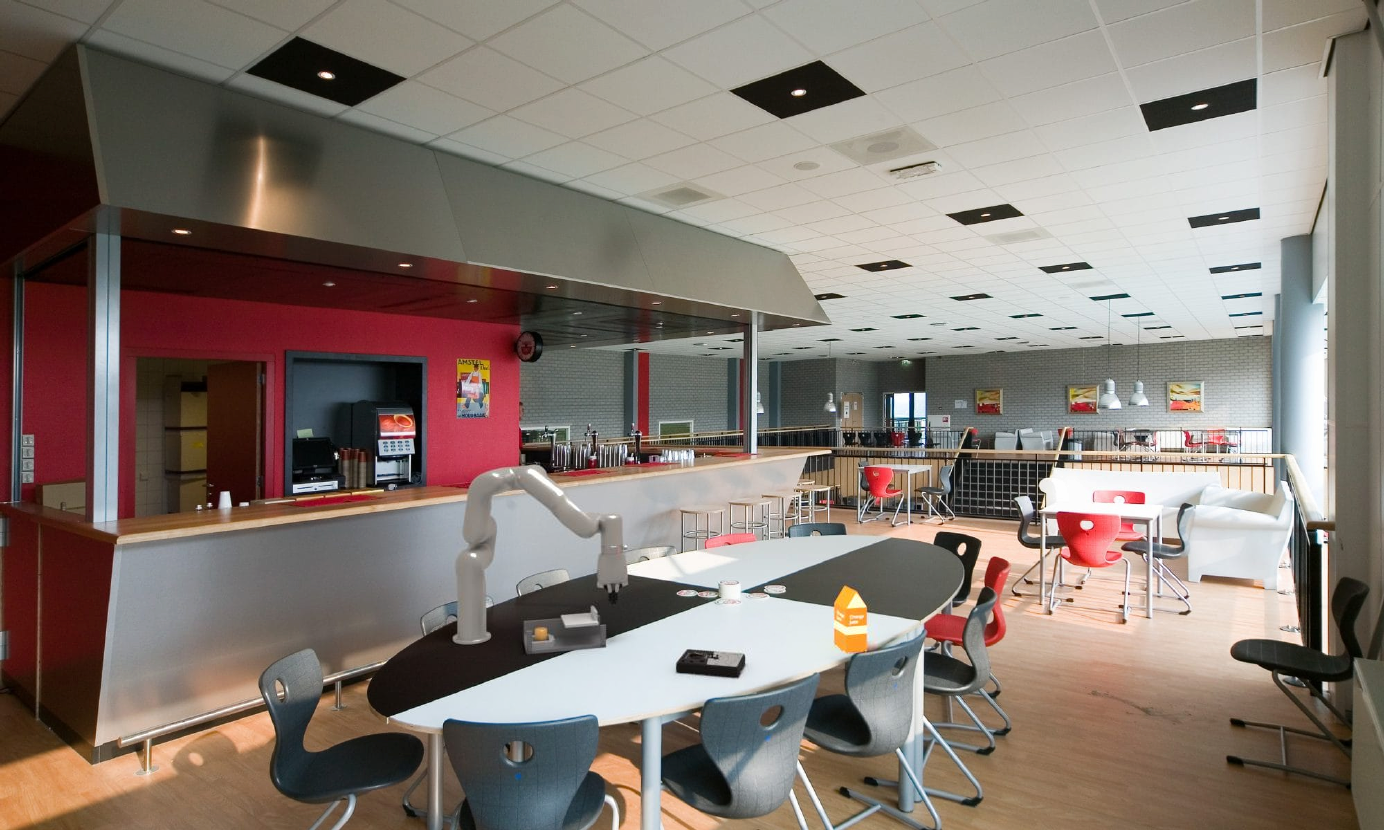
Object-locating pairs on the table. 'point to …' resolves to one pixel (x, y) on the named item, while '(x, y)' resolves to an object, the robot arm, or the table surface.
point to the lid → (580, 619)
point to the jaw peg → (541, 634)
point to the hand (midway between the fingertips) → (612, 603)
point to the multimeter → (711, 663)
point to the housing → (563, 636)
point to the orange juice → (850, 621)
